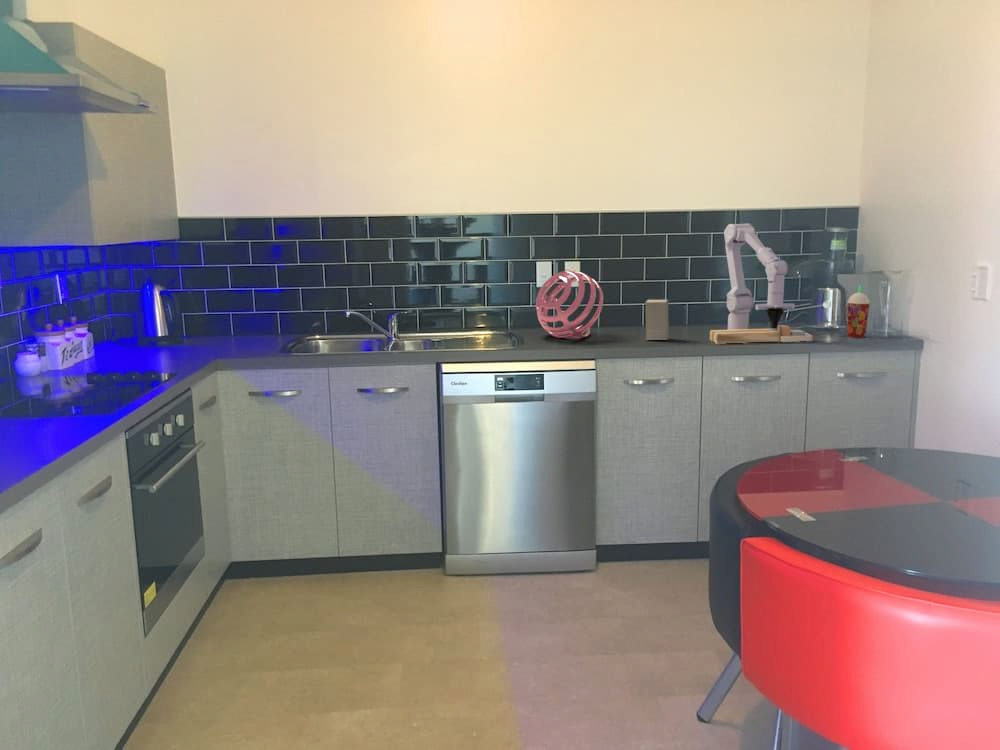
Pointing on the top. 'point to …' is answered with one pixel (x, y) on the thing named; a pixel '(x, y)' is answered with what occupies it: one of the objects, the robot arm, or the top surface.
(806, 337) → the tray
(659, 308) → the skincare box
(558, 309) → the spiral basket
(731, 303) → the robot arm
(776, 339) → the board
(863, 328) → the smoothie
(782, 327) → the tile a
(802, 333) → the tile
